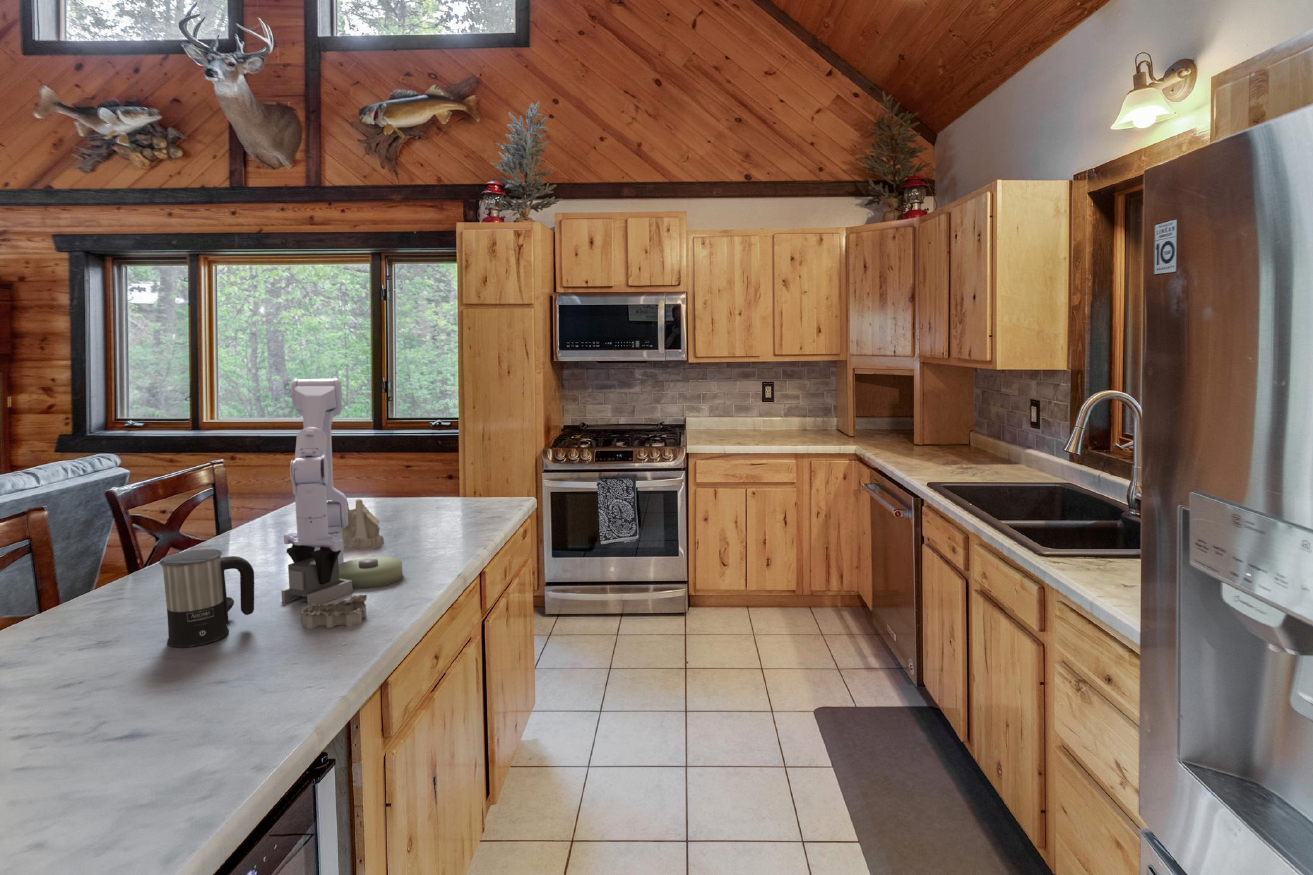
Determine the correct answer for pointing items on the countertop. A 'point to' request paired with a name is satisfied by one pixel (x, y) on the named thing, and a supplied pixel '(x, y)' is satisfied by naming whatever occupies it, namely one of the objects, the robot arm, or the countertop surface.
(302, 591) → the grey block with ledge
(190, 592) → the milk frother
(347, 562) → the green disc with bracket
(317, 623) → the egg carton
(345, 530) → the ceramic cottage
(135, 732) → the countertop surface
